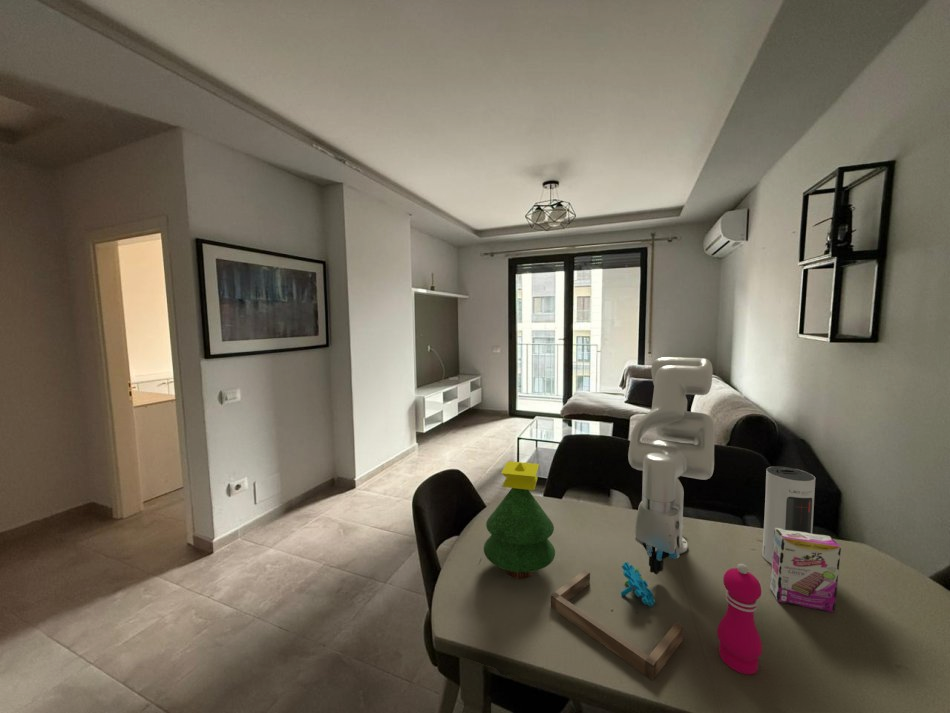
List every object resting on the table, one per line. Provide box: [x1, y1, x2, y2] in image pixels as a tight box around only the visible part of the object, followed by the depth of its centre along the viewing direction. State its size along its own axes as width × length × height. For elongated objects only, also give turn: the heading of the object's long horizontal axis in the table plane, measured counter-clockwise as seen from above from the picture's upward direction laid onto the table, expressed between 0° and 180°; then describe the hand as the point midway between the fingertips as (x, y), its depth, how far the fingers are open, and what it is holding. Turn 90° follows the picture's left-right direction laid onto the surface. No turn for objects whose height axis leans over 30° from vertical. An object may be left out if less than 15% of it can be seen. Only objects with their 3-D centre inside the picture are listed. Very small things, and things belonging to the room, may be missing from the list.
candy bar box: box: [769, 528, 842, 613], centre depth 88 cm, size 11×5×16 cm, turn 71°
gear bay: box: [550, 569, 685, 681], centre depth 83 cm, size 14×24×3 cm, turn 40°
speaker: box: [761, 465, 816, 565], centre depth 103 cm, size 11×10×26 cm
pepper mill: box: [716, 563, 763, 675], centre depth 73 cm, size 7×7×20 cm
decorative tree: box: [483, 460, 556, 580], centre depth 100 cm, size 19×19×30 cm
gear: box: [620, 561, 656, 607], centre depth 91 cm, size 11×6×10 cm
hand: (655, 570), depth 96 cm, fingers closed
